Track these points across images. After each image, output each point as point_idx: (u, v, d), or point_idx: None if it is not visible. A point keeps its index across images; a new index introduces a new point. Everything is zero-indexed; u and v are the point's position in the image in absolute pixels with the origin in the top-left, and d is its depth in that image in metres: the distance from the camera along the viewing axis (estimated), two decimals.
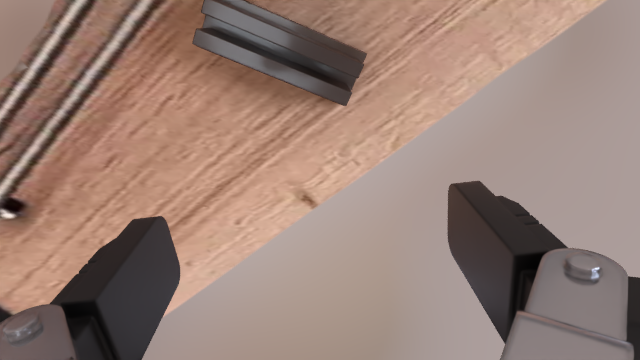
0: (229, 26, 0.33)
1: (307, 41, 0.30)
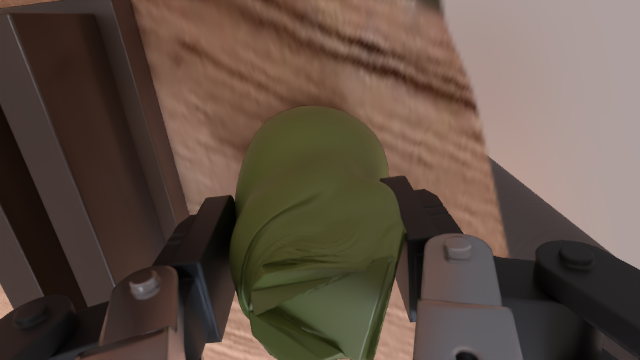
0: None
1: (112, 286, 0.13)
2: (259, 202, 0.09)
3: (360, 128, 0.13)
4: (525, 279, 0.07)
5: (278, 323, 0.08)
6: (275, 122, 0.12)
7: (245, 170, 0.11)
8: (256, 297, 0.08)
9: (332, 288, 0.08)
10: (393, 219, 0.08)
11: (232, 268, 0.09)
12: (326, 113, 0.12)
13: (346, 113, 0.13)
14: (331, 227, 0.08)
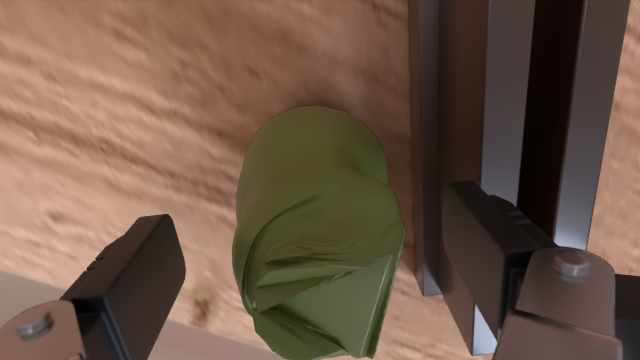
0: None
1: (587, 231, 0.12)
2: (262, 201, 0.09)
3: (360, 128, 0.13)
4: None
5: (281, 320, 0.08)
6: (276, 122, 0.12)
7: (247, 169, 0.11)
8: (260, 294, 0.08)
9: (334, 284, 0.08)
10: (393, 217, 0.08)
11: (235, 266, 0.09)
12: (327, 113, 0.12)
13: (346, 113, 0.14)
14: (334, 227, 0.08)
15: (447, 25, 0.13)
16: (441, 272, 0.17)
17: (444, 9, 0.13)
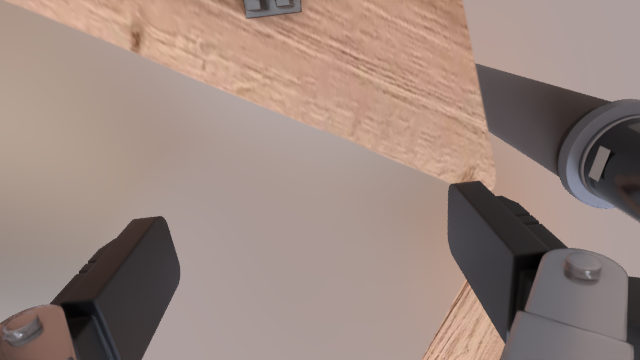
0: None
1: None
2: None
3: None
4: None
5: None
6: None
7: None
8: None
9: None
10: None
11: None
12: None
13: None
14: None
15: None
16: None
17: None
